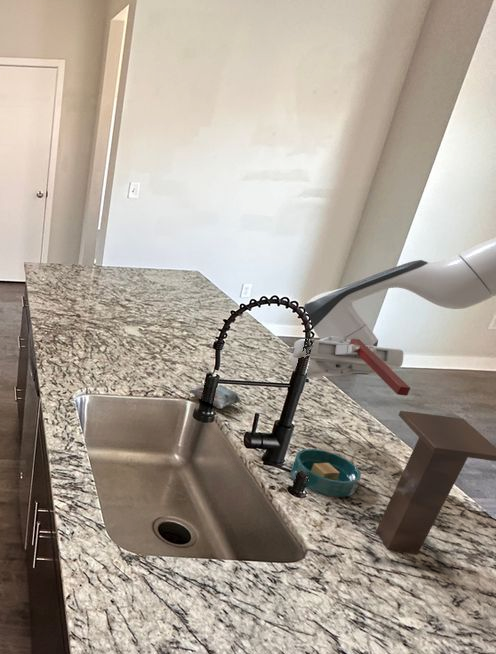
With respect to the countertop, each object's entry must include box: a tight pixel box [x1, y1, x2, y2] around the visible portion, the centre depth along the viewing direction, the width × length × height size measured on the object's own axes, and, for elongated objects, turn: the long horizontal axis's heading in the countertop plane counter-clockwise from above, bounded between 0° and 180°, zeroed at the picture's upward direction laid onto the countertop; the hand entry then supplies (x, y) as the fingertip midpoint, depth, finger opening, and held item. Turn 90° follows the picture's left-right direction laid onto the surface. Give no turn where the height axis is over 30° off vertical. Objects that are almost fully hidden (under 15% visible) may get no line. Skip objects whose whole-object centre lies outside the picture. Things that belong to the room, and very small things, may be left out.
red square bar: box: [349, 339, 411, 397], centre depth 104 cm, size 2×22×2 cm, turn 168°
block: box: [311, 463, 340, 481], centre depth 118 cm, size 4×4×4 cm
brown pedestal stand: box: [375, 410, 496, 556], centre depth 96 cm, size 12×12×26 cm
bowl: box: [290, 448, 362, 498], centre depth 117 cm, size 12×12×5 cm
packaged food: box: [186, 383, 243, 410], centre depth 149 cm, size 9×12×5 cm
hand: (364, 349), depth 109 cm, fingers closed on red square bar, 2 cm apart
